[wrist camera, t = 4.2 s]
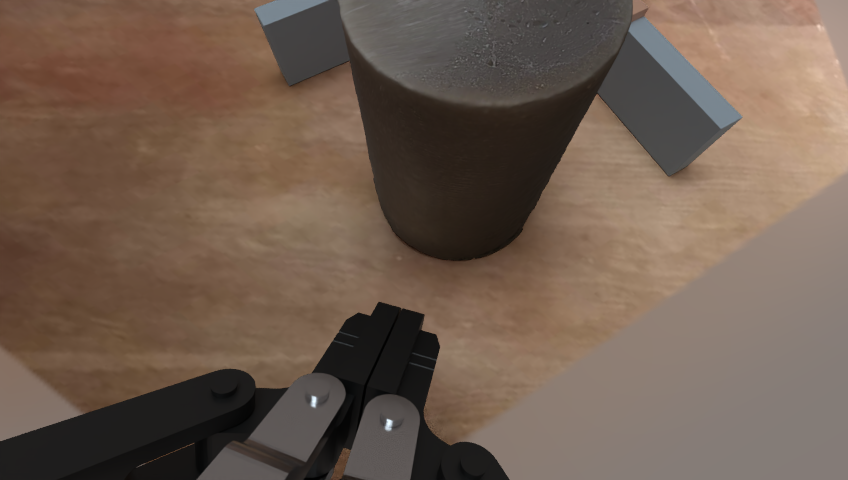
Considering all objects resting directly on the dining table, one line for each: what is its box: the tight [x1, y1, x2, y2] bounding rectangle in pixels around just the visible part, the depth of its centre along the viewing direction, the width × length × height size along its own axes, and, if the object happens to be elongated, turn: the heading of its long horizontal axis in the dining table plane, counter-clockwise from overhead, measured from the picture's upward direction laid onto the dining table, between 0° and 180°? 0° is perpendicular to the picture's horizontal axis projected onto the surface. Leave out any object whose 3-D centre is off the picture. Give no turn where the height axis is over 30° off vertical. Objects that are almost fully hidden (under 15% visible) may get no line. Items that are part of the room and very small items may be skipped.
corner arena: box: [254, 0, 742, 176], centre depth 26 cm, size 20×20×6 cm
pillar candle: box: [338, 0, 633, 260], centre depth 20 cm, size 10×10×15 cm
